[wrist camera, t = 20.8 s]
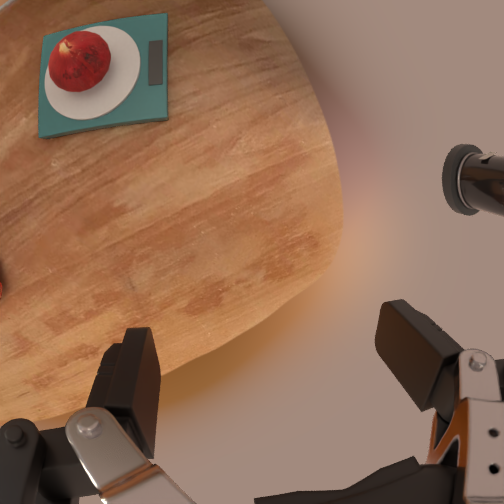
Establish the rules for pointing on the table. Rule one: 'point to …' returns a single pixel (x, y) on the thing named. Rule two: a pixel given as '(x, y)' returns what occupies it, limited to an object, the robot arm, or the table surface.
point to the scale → (111, 80)
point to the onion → (79, 61)
